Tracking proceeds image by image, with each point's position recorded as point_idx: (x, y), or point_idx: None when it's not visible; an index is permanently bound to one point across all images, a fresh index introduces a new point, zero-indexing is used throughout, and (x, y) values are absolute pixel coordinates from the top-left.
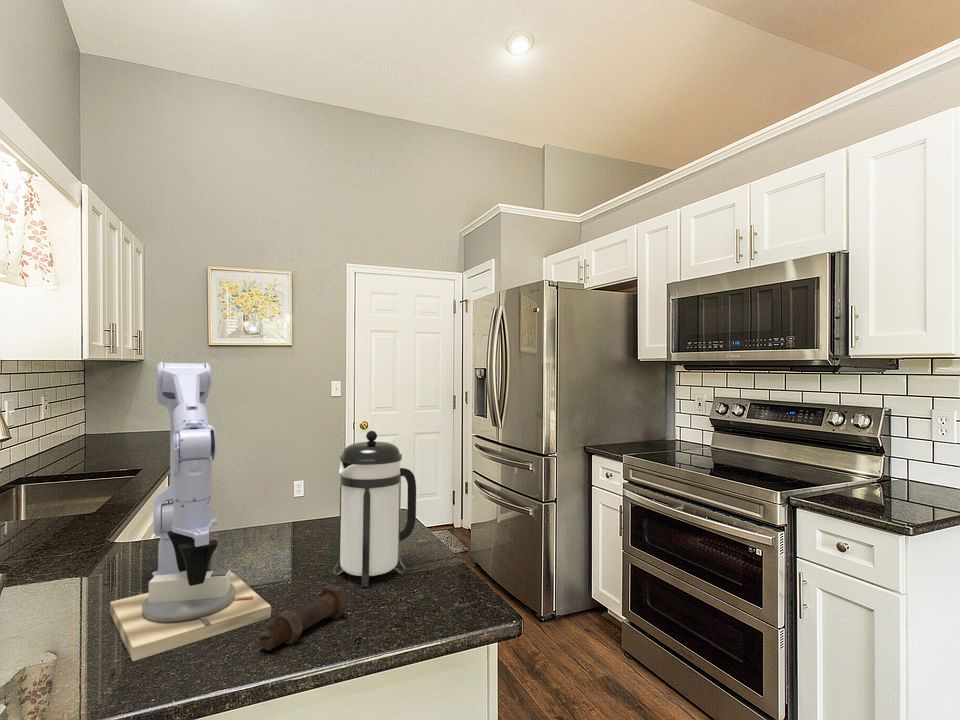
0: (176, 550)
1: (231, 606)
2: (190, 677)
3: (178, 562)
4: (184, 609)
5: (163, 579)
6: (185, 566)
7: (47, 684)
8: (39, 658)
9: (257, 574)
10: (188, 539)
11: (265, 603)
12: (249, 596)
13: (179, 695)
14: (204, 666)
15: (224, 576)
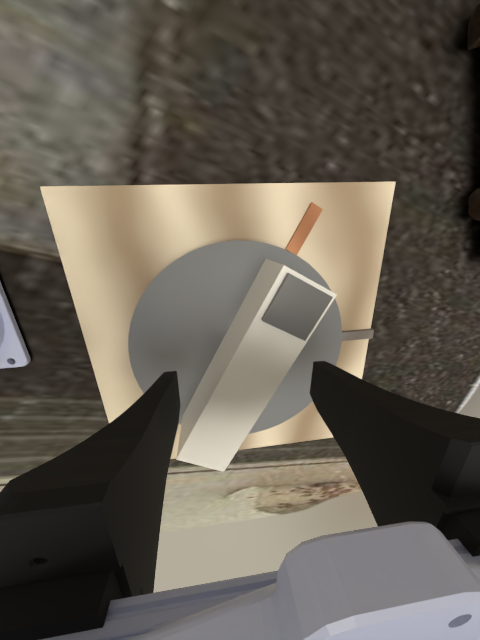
0: (164, 488)
1: (320, 269)
2: (443, 363)
3: (175, 434)
4: (308, 372)
5: (226, 444)
6: (176, 399)
7: (319, 486)
8: (242, 500)
9: (19, 79)
10: (145, 498)
11: (371, 188)
12: (295, 209)
13: (468, 379)
14: (434, 344)
15: (332, 300)
